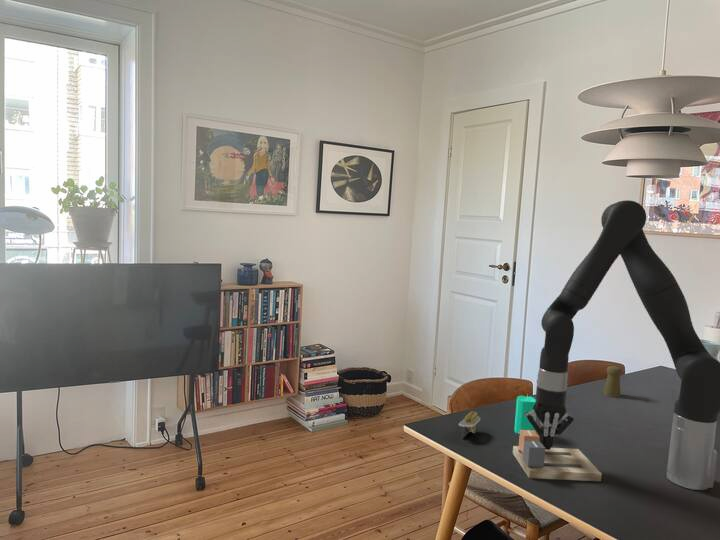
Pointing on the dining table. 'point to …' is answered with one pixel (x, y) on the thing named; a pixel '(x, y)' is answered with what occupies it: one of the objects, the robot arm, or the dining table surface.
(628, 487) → the dining table surface
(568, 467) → the panel
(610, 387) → the cork
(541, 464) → the fader
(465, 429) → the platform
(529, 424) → the candle
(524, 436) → the block
